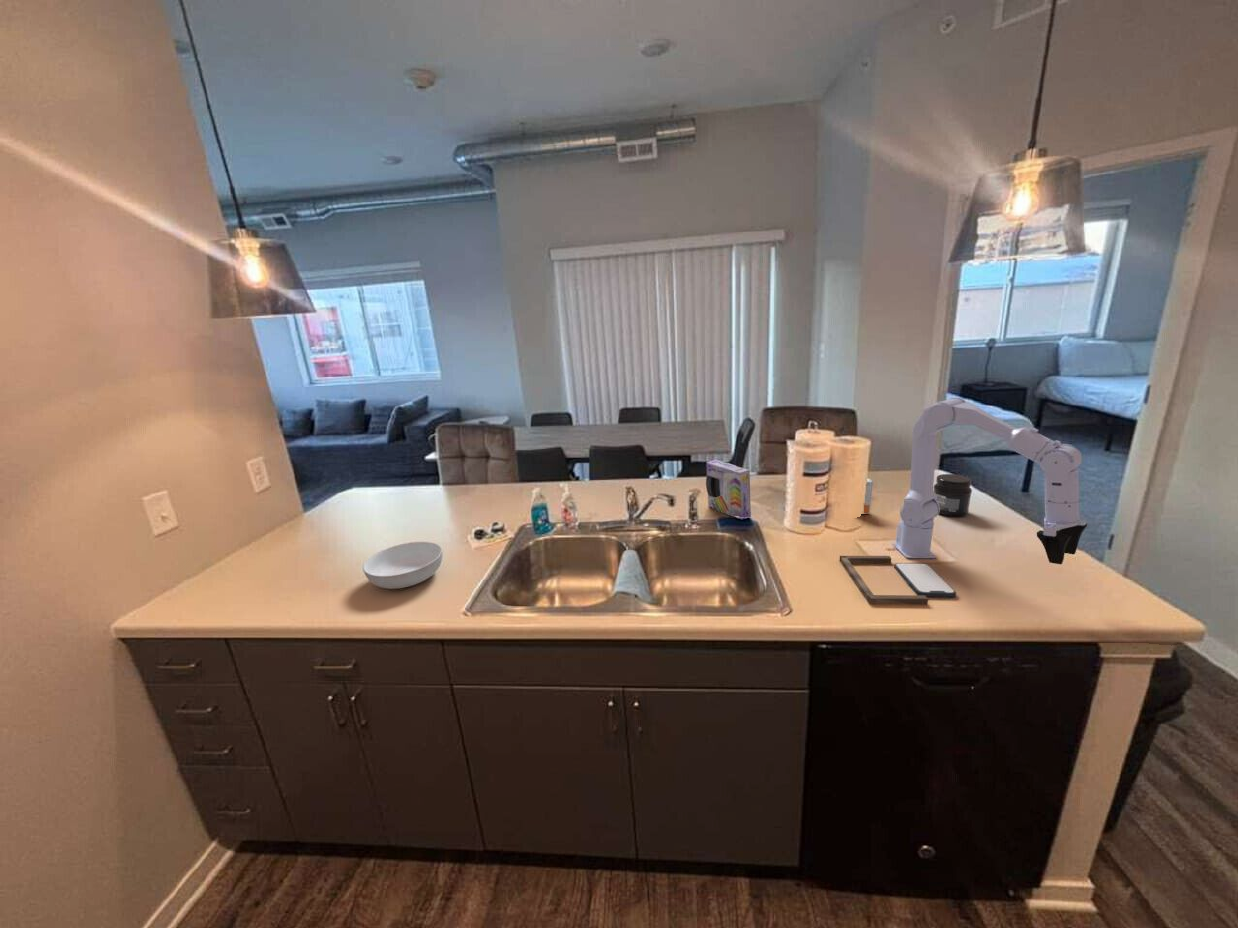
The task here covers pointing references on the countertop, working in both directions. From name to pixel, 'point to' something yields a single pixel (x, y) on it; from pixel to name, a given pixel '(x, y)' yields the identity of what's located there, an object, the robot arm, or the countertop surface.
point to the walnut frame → (867, 592)
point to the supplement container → (953, 494)
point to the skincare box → (868, 496)
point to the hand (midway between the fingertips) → (1062, 558)
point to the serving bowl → (403, 564)
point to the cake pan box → (728, 488)
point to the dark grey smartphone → (924, 580)
